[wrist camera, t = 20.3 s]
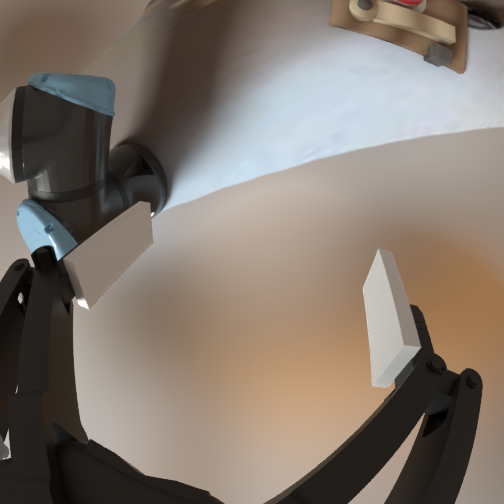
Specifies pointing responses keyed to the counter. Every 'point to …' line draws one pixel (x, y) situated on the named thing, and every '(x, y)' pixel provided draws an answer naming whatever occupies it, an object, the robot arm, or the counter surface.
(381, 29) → the board
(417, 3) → the pill bottle
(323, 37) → the counter surface
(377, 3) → the leg bar
